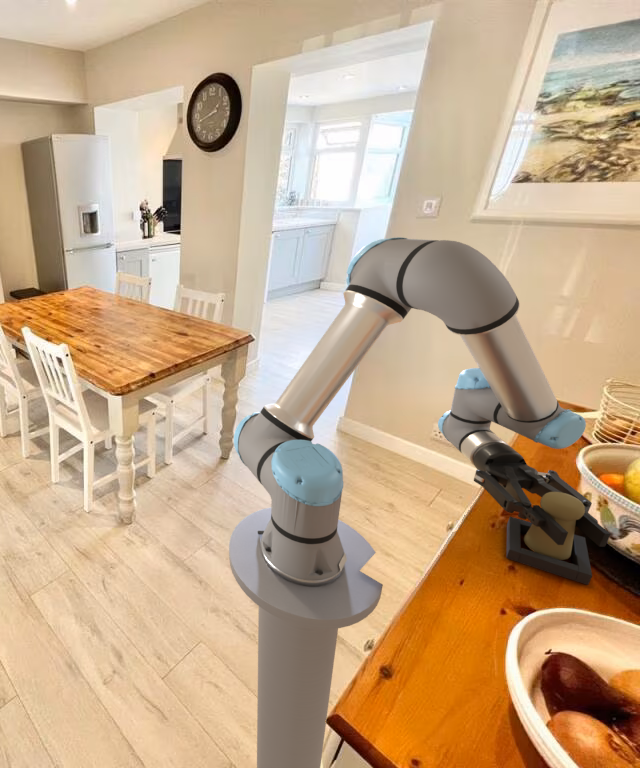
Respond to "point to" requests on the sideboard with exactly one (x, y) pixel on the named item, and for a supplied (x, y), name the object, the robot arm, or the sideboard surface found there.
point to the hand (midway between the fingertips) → (583, 539)
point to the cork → (565, 514)
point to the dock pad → (573, 571)
